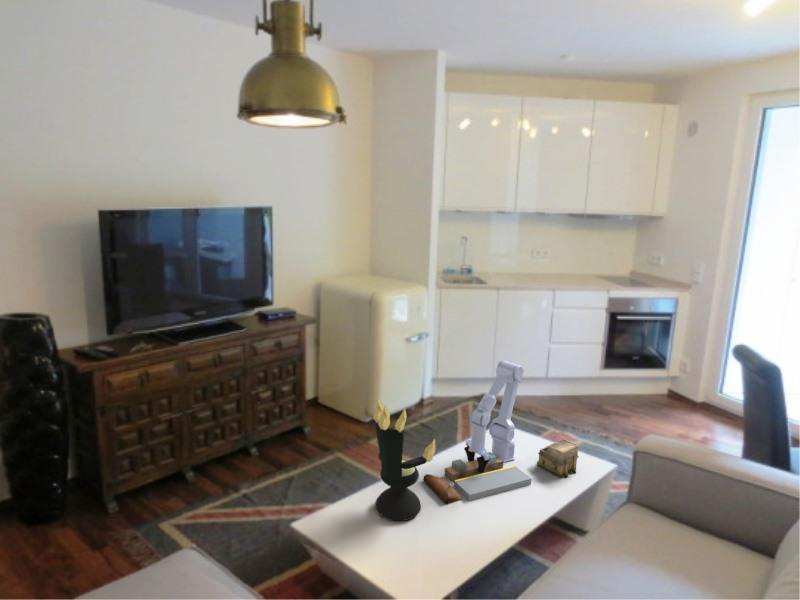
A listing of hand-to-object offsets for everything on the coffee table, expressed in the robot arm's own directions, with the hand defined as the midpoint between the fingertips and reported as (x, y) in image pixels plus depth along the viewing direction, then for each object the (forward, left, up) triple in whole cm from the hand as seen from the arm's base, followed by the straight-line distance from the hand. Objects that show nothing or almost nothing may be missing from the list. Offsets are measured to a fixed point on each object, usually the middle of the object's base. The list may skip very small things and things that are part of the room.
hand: (475, 467), depth 233 cm
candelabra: (+44, +13, -2) cm, 46 cm away
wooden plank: (+1, 0, -2) cm, 2 cm away
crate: (+9, 0, +2) cm, 9 cm away
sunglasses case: (+21, +7, -2) cm, 22 cm away
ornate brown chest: (-35, +11, -2) cm, 37 cm away
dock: (0, +12, -1) cm, 12 cm away
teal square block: (-6, 0, +2) cm, 7 cm away
